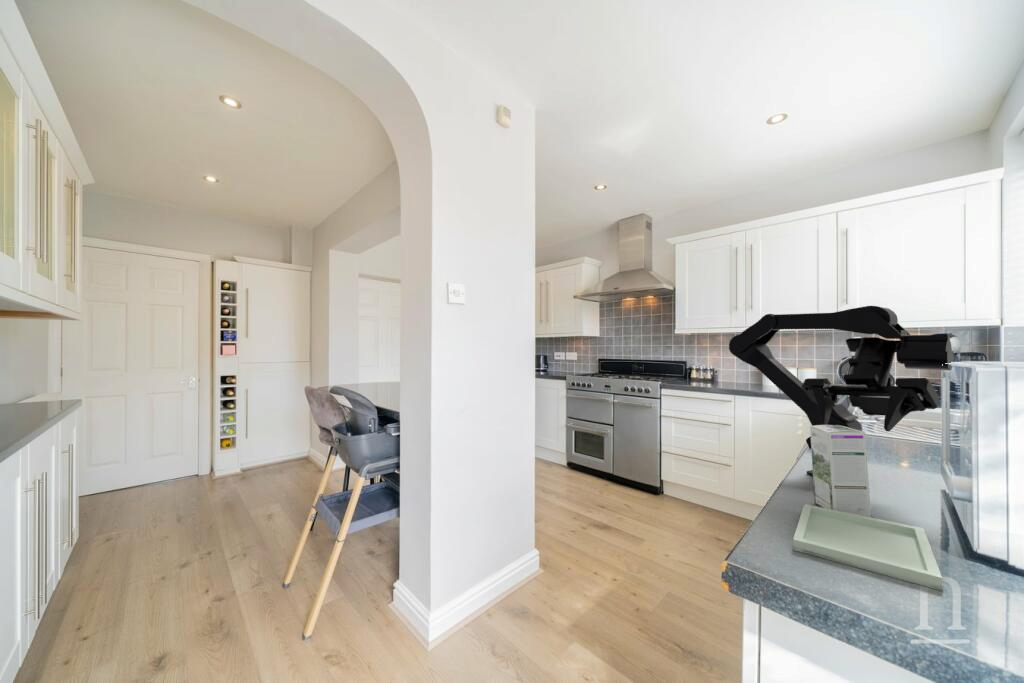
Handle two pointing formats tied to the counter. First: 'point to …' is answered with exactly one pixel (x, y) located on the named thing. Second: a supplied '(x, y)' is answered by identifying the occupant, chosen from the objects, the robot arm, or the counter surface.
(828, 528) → the tray
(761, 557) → the counter surface
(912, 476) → the counter surface
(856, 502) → the syrup box
